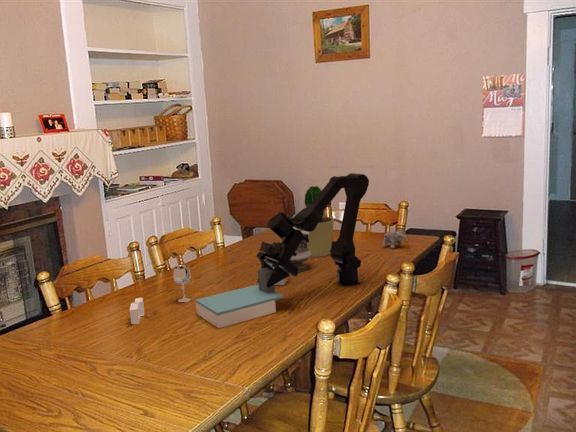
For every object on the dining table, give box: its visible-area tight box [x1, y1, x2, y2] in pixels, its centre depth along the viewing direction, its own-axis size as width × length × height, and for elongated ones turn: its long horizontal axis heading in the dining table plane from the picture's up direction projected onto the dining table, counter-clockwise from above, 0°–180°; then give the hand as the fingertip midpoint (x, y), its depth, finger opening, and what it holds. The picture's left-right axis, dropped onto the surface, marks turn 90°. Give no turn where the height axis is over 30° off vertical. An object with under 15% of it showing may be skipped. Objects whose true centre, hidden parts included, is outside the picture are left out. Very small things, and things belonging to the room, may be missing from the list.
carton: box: [195, 300, 277, 329], centre depth 185 cm, size 20×16×4 cm
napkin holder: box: [129, 297, 145, 325], centre depth 187 cm, size 15×11×6 cm
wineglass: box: [173, 264, 192, 303], centre depth 200 cm, size 6×6×12 cm
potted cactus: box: [303, 185, 335, 258], centre depth 250 cm, size 15×15×30 cm
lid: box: [195, 268, 285, 315], centre depth 185 cm, size 23×16×10 cm
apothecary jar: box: [280, 227, 312, 273], centre depth 230 cm, size 12×12×18 cm
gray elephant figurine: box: [382, 229, 409, 250], centre depth 253 cm, size 9×12×8 cm
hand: (262, 284), depth 190 cm, fingers open, 6 cm apart
